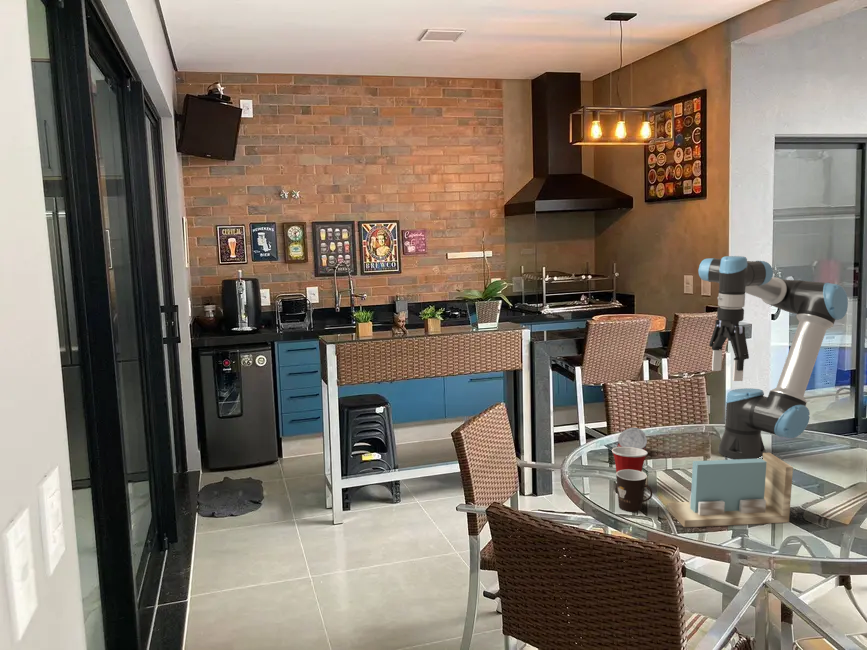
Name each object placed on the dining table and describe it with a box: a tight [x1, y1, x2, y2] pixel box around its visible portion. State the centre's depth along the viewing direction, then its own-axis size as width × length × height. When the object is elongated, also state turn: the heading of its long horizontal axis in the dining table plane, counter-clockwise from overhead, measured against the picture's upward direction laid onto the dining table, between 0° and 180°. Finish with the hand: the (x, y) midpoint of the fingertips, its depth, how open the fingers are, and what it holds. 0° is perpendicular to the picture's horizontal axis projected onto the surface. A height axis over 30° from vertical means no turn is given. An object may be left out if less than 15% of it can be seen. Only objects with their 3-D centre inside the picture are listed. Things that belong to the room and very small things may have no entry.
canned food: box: [616, 427, 648, 451], centre depth 262 cm, size 11×10×10 cm
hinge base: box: [666, 452, 794, 528], centre depth 208 cm, size 30×12×16 cm, turn 95°
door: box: [690, 458, 767, 513], centre depth 208 cm, size 20×3×14 cm, turn 95°
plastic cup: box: [611, 446, 648, 474], centre depth 231 cm, size 11×11×12 cm
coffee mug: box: [615, 469, 653, 513], centre depth 214 cm, size 12×9×10 cm
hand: (726, 375), depth 229 cm, fingers open, 13 cm apart
